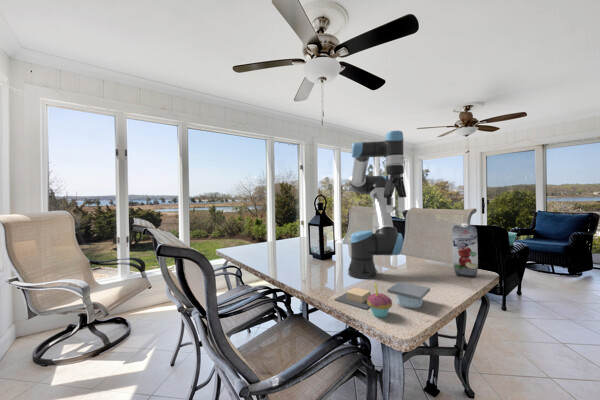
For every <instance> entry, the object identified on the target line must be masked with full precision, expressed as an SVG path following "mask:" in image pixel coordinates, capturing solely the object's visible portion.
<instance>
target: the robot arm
mask: <svg viewBox="0 0 600 400" xmlns="http://www.w3.org/2000/svg"><path fill="white" fill-rule="evenodd" d="M380 157H382V158H385V165H386V169H385V170H386V171H385V172H386V173H385V174H387V175H382V174H380V175H366V173H367V169H368V164H369V160H370V158H380ZM351 158H354V161H353V167H352V174H351V175H350V177H349V184H350V186H351V188H352V190H354V191H355V192H356V193H358V194H360V195H369V197H370V198H371V199H372V202H373V203H372V204H373V210H374V215H375V221H376V227H377V228H376V230H375V231H374V232H373V230H359V231H355V232H353V233H352V234H351V235H350V263H349V267H348V270H347V275H349V276H350V277H352V278H357V279H373V278H376V277H377V276H378V270H377V267H376V264H375V262H374V256H391V257H393V256H400V254H402V250H403V245H404V244H403V243H404V238H403V235H402V232H401V233H400V232H398V230H397V228H396V227H394V222H393V219H392V214H393V213H394V198H393V194H394V191H395V190H396V193H397V195H398V197H397V209H398V210H397V211H398V212H405V208H406V207H405V198H407V192H406V186H405V181H404V176H401V175H403V174H404V173H405V168H404V164H405V163H404V162H405V161H404V160H405V158H406V157H404V133H403V131H401V130H392V131H391V130H390V131H388V132H386V134H385V140H383V141H382V140H381V141H364V142H363V141H359V142H353V143H352V144H351Z"/></svg>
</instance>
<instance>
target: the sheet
mask: <svg viewBox="0 0 600 400" xmlns="http://www.w3.org/2000/svg"><path fill="white" fill-rule="evenodd" d="M430 292H431V287H428V286H424V285H418V284H414V283H409V282H403V281H398V282H396V283H395V284H393V285H392V286H391V287H389V288H387V294H392V295H395V296H396V295H400V296H404V297H408V298H412V299H417V300H421V299H422V298H423V299H424V297H425V296H427V294H429V293H430Z"/></svg>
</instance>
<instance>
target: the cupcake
mask: <svg viewBox="0 0 600 400" xmlns="http://www.w3.org/2000/svg"><path fill="white" fill-rule="evenodd" d="M374 290H375V293H372V294H371V295H369V297H368V298H367V304H368V305H369V306H370V310H371V312H372V315H373V316H374V317H375V318H376V317H377V318H385V317H387V316H388V313H389V310H390V309H391V308H393V307H392V306H393V302H392V301H393V300H392V299H391V298H390V296H388V295H386V294H384V293H382V292H381V293H380V292H378V285H377V283H376V282H374Z"/></svg>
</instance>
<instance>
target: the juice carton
mask: <svg viewBox="0 0 600 400" xmlns="http://www.w3.org/2000/svg"><path fill="white" fill-rule="evenodd" d="M478 245H479V244H478V230H477V227H476V226H474V225H469V223H461V225H458V224H454V225H453V226H452V264H453V265H452V266H453V270H454V273H455V275H456V276H457V277H458V276H459V277H468V278H477V275H478V271H479V258H478V257H479V254H478V249H479V248H478V247H479V246H478Z"/></svg>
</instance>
